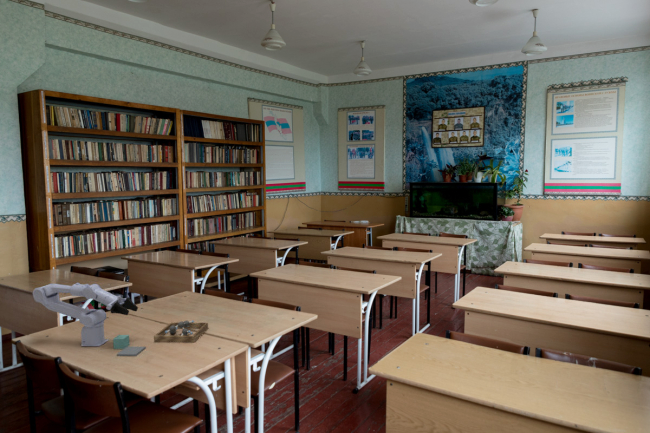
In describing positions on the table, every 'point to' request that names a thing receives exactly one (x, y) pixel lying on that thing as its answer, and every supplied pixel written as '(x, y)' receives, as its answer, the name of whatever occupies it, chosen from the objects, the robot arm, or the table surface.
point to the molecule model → (180, 325)
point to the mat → (131, 351)
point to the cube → (121, 341)
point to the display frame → (161, 338)
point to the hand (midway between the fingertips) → (132, 311)
